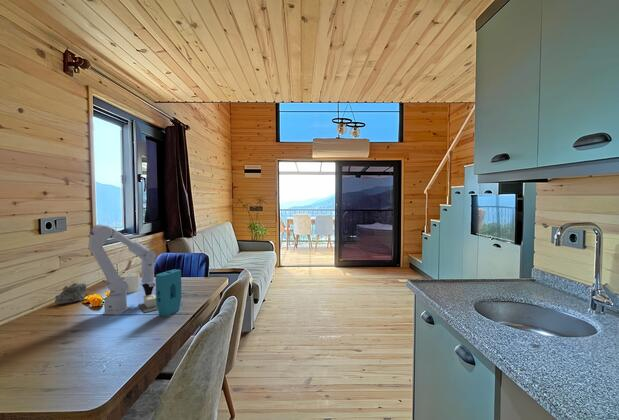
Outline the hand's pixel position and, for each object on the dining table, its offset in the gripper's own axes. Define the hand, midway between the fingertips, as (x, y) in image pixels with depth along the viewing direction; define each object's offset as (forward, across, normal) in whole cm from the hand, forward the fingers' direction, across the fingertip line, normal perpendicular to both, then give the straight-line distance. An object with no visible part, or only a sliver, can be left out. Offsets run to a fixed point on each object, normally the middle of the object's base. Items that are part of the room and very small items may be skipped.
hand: (148, 296), depth 158 cm
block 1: (+1, -5, 0) cm, 5 cm away
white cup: (+3, +28, +3) cm, 29 cm away
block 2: (+3, -22, -4) cm, 23 cm away
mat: (+3, -8, 0) cm, 8 cm away
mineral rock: (+3, +29, +31) cm, 43 cm away
